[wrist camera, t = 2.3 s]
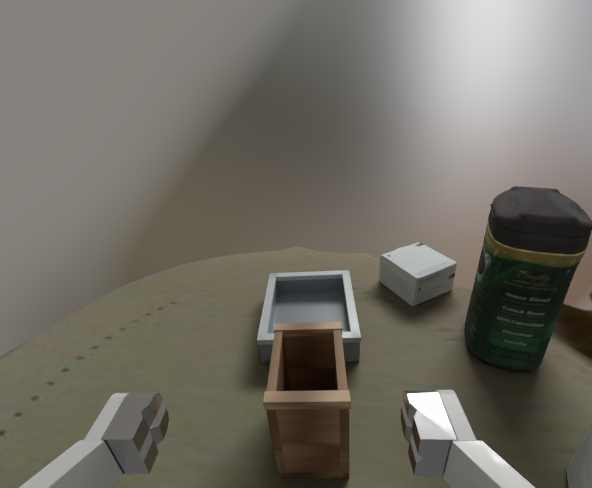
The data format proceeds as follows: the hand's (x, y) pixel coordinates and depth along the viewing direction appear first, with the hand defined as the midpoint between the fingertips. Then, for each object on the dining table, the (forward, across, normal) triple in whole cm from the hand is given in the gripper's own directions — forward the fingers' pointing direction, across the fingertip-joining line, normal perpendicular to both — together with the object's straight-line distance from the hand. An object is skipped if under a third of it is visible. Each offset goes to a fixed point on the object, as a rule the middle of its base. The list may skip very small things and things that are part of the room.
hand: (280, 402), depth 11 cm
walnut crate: (+12, 0, +21) cm, 24 cm away
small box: (+35, -16, +21) cm, 44 cm away
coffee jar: (+23, -23, +21) cm, 39 cm away
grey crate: (+28, 0, +21) cm, 35 cm away
